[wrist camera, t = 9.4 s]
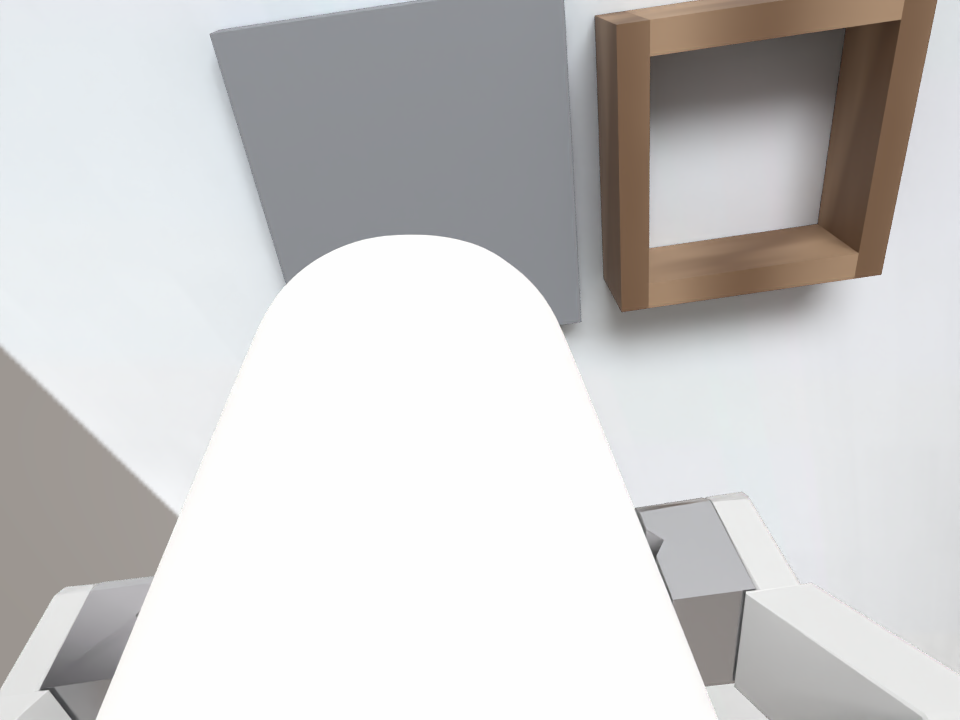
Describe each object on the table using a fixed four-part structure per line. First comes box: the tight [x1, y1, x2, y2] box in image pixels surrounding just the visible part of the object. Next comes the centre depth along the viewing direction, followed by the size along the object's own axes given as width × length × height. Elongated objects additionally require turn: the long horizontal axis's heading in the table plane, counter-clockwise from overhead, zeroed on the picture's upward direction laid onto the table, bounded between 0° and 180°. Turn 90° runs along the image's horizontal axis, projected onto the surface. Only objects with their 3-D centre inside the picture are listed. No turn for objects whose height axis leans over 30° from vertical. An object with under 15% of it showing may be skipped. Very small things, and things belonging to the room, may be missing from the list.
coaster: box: [210, 0, 581, 325], centre depth 25 cm, size 11×12×1 cm
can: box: [96, 235, 718, 720], centre depth 9 cm, size 6×6×12 cm
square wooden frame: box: [595, 0, 937, 312], centre depth 24 cm, size 10×10×3 cm
